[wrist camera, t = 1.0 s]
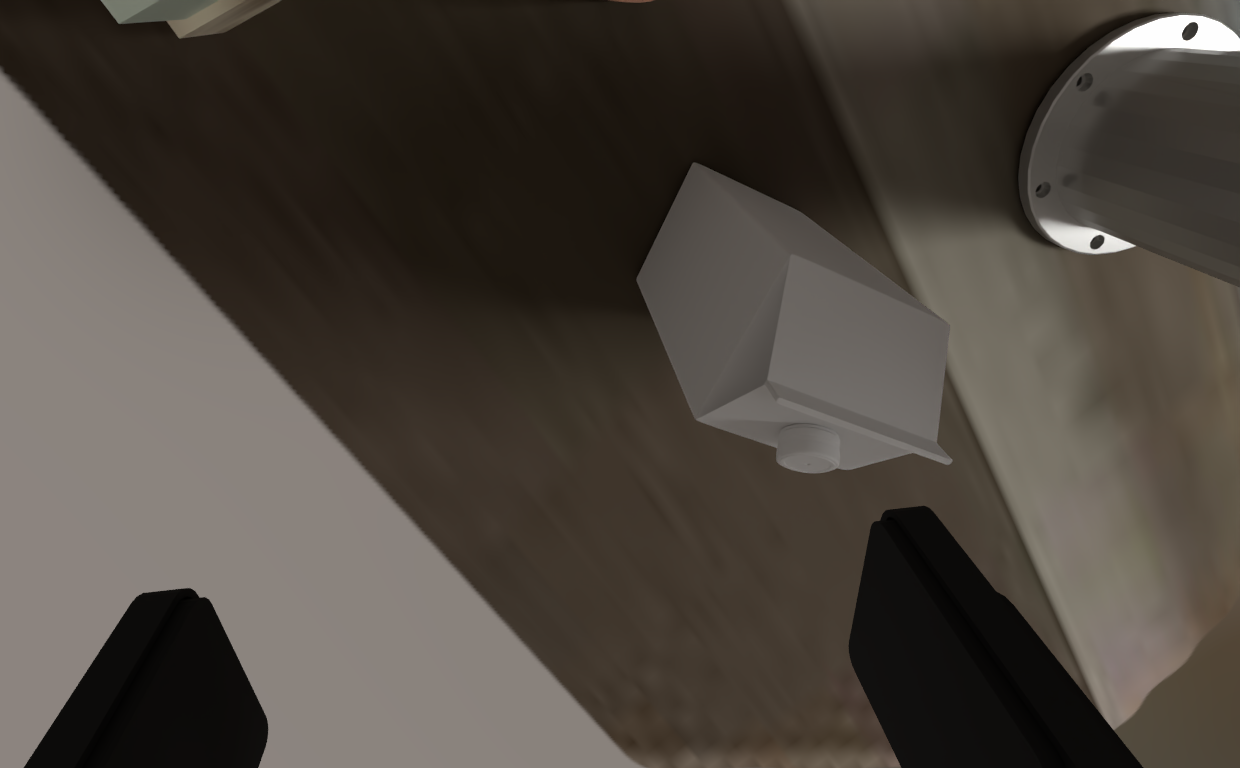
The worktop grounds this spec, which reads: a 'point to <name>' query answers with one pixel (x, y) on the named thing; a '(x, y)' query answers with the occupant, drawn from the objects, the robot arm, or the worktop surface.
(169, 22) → the birch block
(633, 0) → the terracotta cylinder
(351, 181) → the worktop surface
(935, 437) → the milk carton
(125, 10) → the sage block
